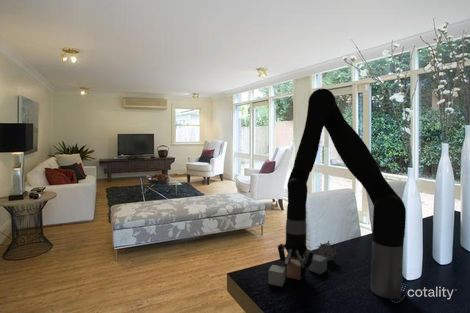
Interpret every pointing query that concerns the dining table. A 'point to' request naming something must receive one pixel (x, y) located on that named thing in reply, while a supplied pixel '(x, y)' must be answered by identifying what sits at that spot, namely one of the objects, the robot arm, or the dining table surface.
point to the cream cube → (277, 275)
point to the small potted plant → (327, 251)
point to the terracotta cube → (294, 269)
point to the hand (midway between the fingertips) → (295, 274)
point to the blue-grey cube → (318, 264)
